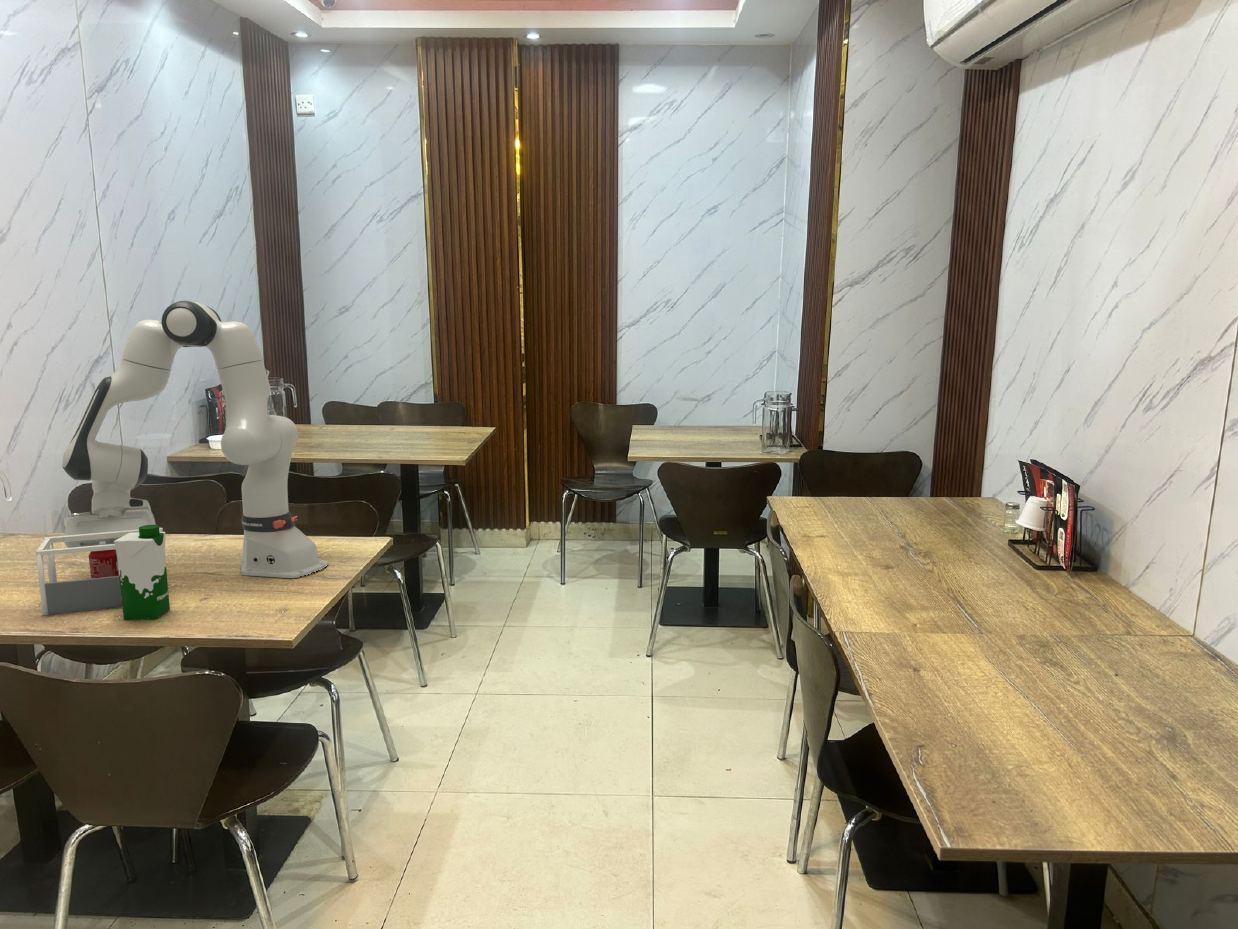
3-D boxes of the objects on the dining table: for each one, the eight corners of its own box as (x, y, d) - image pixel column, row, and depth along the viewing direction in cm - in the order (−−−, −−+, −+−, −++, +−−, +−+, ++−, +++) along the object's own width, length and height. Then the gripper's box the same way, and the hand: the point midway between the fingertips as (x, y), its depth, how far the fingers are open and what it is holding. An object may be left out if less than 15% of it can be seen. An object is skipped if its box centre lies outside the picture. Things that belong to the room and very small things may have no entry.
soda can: (116, 600, 216) (110, 550, 214) (87, 600, 216) (81, 550, 214) (131, 591, 223) (126, 542, 220) (103, 591, 223) (98, 542, 220)
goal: (51, 597, 218) (44, 537, 215) (167, 585, 227) (162, 527, 224) (41, 615, 206) (34, 551, 203) (164, 601, 215) (159, 540, 212)
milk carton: (159, 620, 202) (151, 531, 199) (116, 621, 202) (107, 532, 198) (176, 607, 211) (168, 522, 207) (135, 608, 211) (126, 522, 207)
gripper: (61, 507, 227) (59, 556, 220) (154, 500, 235) (155, 547, 227) (66, 521, 232) (64, 569, 225) (157, 513, 239) (158, 560, 232)
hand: (111, 558), depth 226 cm, fingers closed
